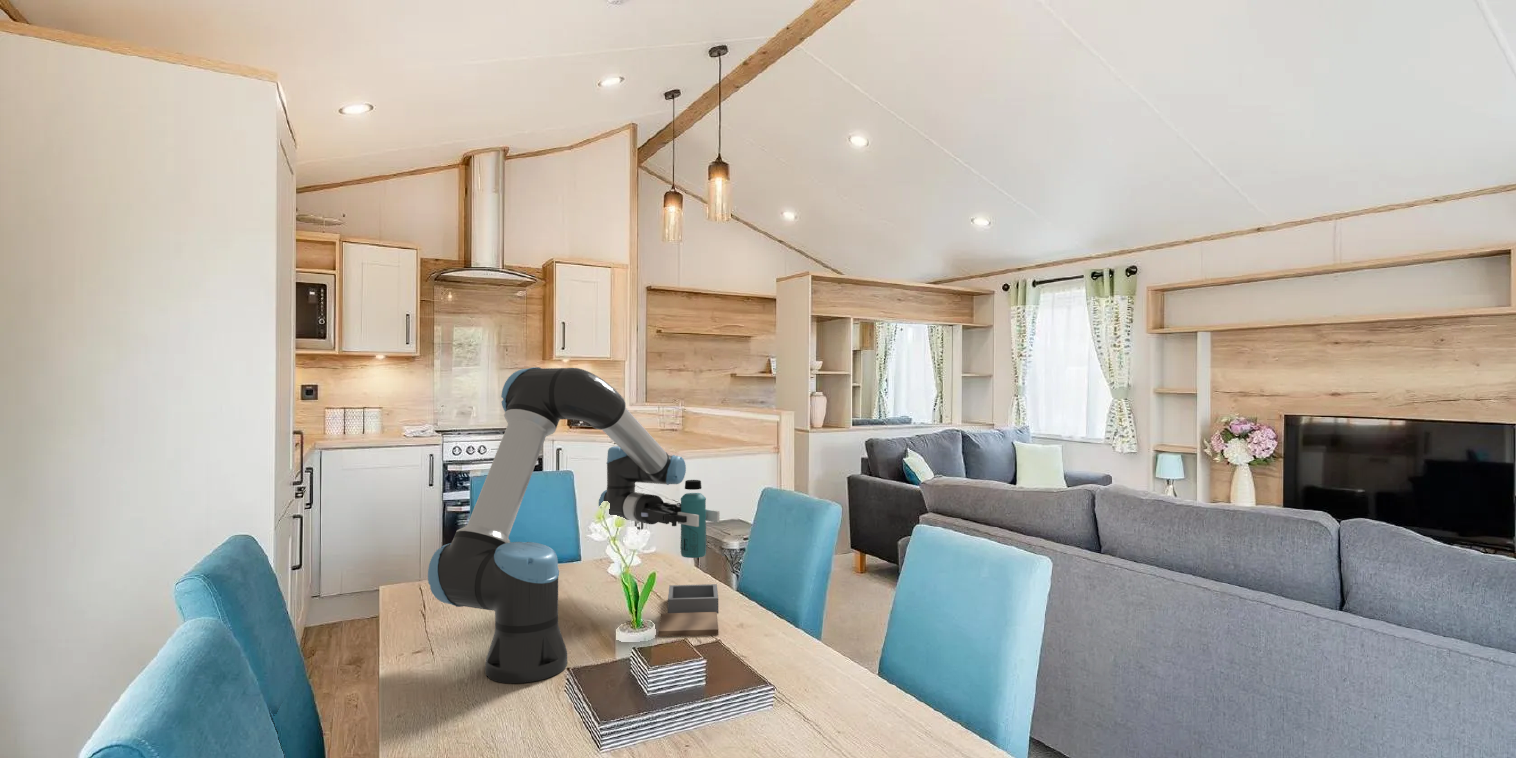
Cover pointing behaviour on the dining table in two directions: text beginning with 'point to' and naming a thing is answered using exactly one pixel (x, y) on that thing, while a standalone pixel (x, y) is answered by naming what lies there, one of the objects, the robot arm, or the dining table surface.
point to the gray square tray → (693, 598)
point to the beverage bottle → (691, 535)
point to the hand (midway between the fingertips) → (708, 518)
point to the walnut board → (688, 624)
